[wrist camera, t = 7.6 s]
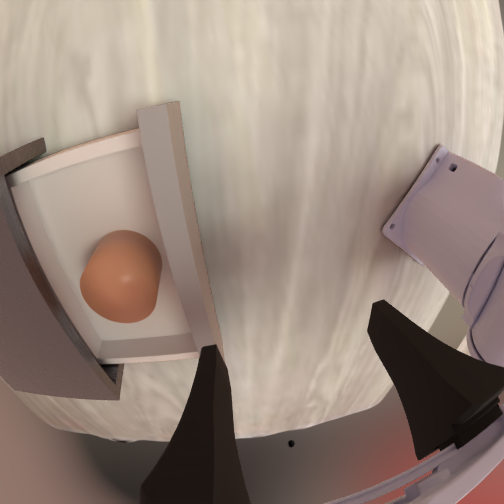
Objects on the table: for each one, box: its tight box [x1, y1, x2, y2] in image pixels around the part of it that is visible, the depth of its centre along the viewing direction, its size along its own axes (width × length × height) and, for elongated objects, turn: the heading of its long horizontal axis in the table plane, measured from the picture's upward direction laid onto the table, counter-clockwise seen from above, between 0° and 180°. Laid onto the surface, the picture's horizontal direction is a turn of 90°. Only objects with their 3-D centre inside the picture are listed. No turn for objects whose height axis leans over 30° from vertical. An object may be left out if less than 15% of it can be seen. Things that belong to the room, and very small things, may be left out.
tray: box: [5, 101, 225, 364], centre depth 16 cm, size 12×20×6 cm, turn 4°
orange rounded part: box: [80, 230, 162, 323], centre depth 16 cm, size 5×5×4 cm
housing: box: [0, 137, 124, 400], centre depth 15 cm, size 14×20×6 cm
